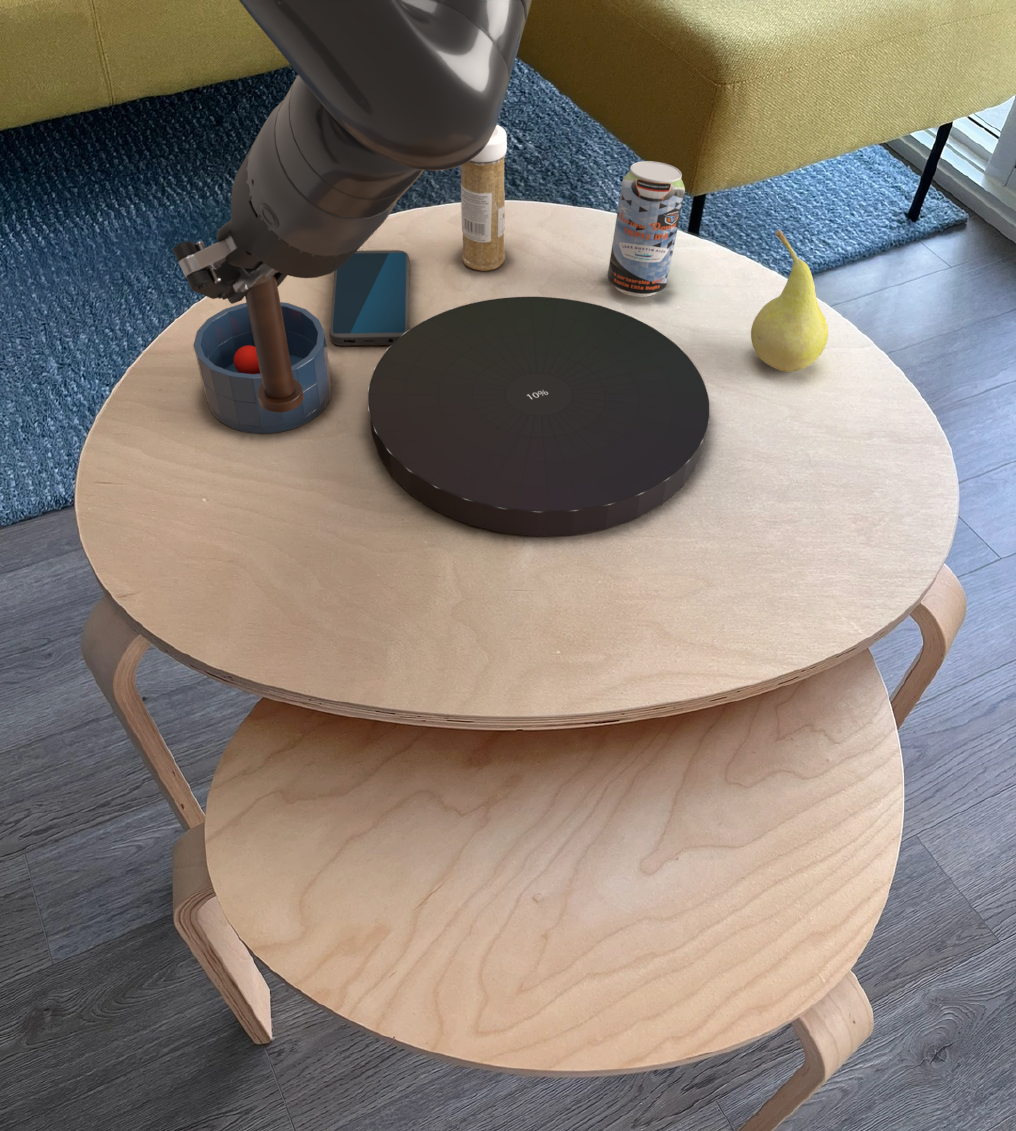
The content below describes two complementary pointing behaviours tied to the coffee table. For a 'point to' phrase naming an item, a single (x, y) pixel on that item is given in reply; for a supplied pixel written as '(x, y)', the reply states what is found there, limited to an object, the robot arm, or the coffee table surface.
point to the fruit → (791, 322)
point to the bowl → (238, 391)
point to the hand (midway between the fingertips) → (246, 281)
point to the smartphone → (371, 298)
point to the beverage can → (646, 228)
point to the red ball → (246, 360)
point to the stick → (272, 349)
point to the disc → (538, 415)
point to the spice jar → (484, 205)
